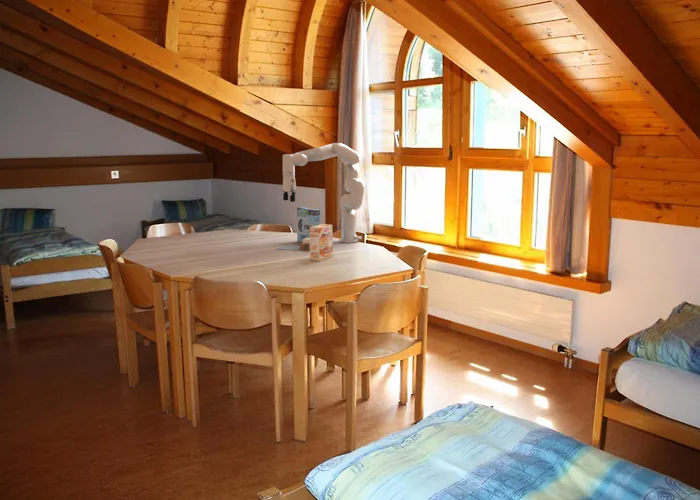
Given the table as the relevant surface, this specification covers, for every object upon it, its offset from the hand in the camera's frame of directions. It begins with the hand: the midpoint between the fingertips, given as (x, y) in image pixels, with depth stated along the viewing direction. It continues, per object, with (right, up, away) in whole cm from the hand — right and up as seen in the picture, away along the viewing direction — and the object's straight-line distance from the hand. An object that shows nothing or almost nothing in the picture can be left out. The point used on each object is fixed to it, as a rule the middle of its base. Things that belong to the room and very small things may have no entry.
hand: (289, 200), depth 432 cm
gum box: (+11, -27, +19) cm, 35 cm away
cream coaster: (+14, -25, -3) cm, 29 cm away
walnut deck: (+13, -30, -2) cm, 33 cm away
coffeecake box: (+22, -37, -33) cm, 54 cm away
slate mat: (+1, -30, +1) cm, 30 cm away
